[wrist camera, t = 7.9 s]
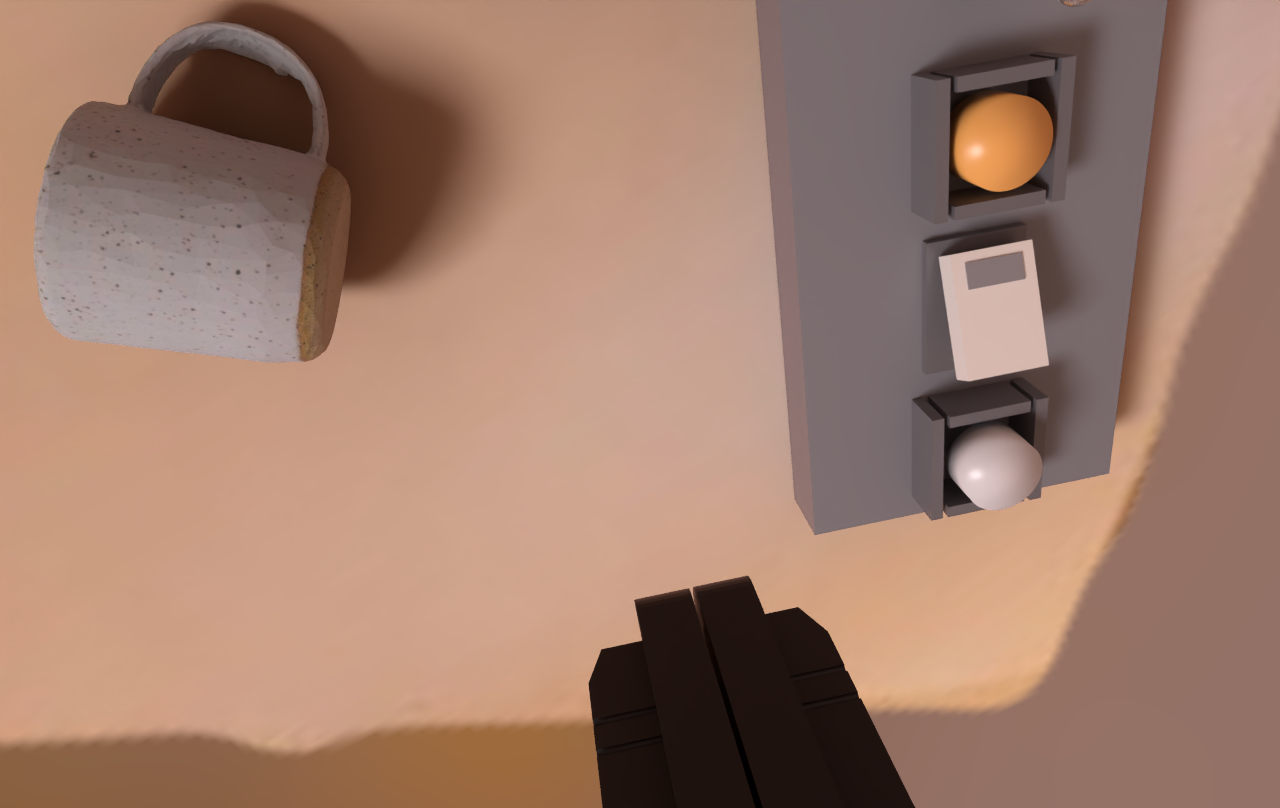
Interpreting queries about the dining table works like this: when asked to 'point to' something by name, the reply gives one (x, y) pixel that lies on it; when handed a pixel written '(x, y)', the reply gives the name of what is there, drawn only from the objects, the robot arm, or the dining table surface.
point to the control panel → (946, 234)
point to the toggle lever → (1074, 2)
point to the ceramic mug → (192, 222)
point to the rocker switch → (994, 310)
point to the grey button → (994, 465)
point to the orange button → (999, 139)
